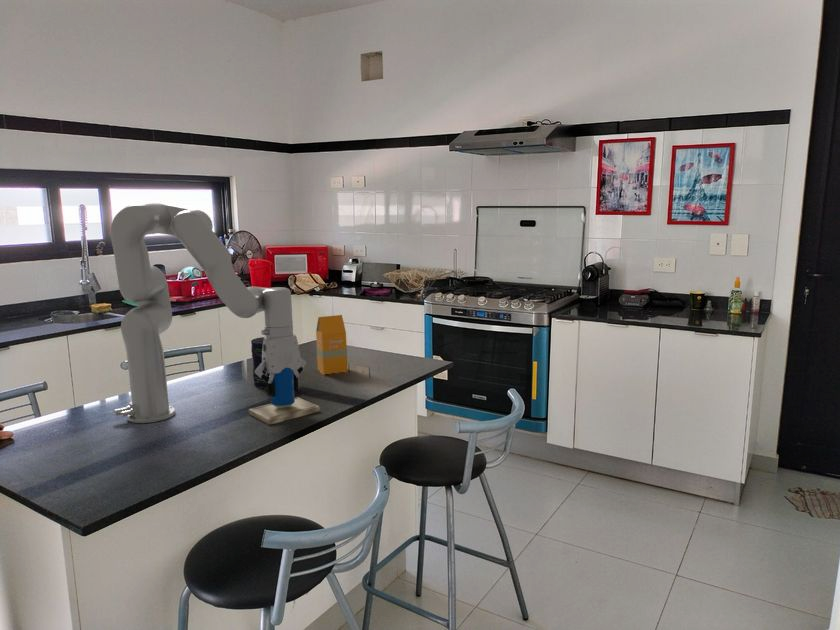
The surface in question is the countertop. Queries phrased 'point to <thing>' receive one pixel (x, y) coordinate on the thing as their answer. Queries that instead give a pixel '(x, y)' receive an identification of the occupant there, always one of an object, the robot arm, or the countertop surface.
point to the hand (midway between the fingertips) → (282, 392)
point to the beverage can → (283, 388)
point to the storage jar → (257, 360)
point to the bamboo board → (283, 411)
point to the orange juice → (331, 345)
